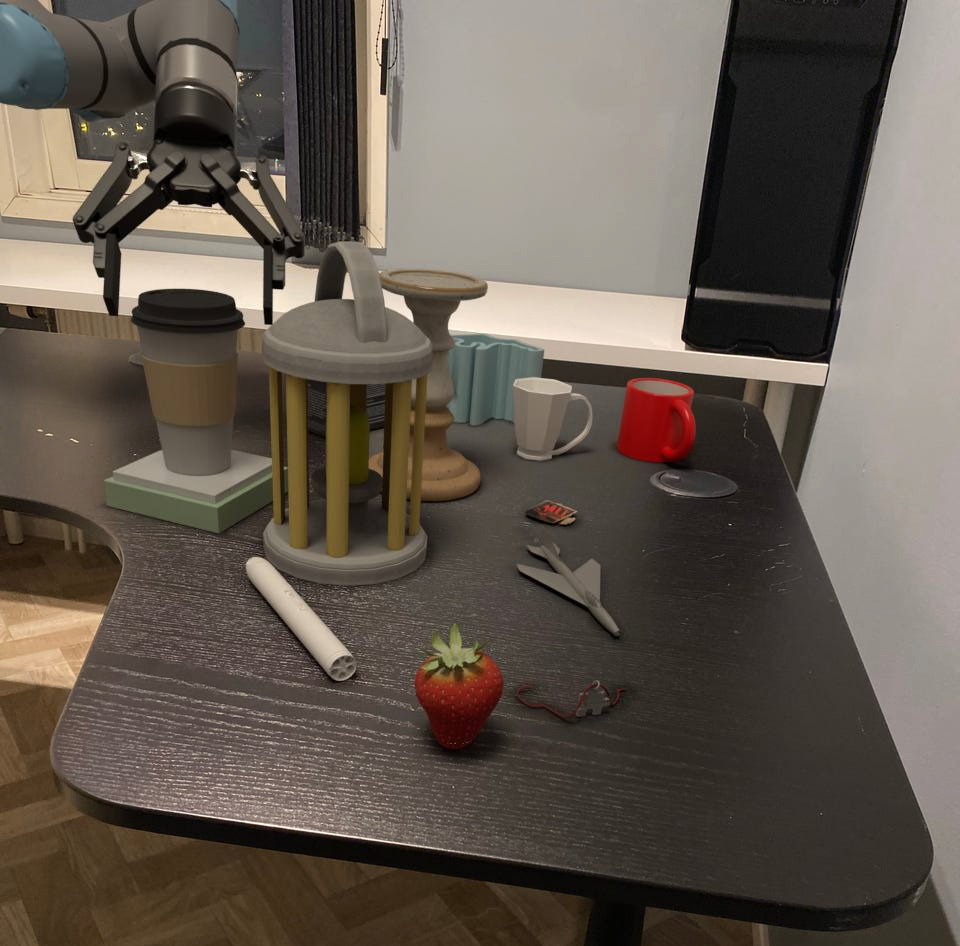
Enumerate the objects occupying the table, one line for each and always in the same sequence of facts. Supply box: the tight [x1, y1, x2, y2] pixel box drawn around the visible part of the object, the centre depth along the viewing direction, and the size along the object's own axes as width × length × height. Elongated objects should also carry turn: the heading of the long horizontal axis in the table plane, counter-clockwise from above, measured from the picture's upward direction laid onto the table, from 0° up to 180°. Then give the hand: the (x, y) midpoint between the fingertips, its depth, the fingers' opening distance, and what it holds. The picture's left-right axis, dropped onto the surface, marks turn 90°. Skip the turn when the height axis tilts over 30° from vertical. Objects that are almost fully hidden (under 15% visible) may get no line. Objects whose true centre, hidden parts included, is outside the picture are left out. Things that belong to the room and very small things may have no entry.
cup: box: [513, 377, 594, 462], centre depth 105 cm, size 7×10×8 cm
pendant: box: [516, 680, 627, 719], centre depth 61 cm, size 8×4×3 cm, turn 107°
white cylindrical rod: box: [245, 556, 357, 682], centre depth 68 cm, size 18×2×2 cm, turn 32°
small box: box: [308, 379, 386, 439], centre depth 107 cm, size 11×6×10 cm, turn 138°
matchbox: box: [524, 499, 578, 525], centre depth 90 cm, size 5×5×1 cm
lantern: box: [261, 241, 433, 587], centre depth 74 cm, size 14×14×25 cm
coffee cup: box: [130, 288, 246, 476], centre depth 82 cm, size 9×9×15 cm
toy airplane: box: [516, 524, 621, 637], centre depth 78 cm, size 8×21×2 cm, turn 18°
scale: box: [103, 449, 288, 534], centre depth 86 cm, size 12×12×3 cm
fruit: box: [414, 622, 505, 750], centre depth 55 cm, size 5×5×8 cm
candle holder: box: [369, 268, 489, 502], centre depth 91 cm, size 12×12×20 cm
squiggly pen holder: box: [446, 333, 545, 427], centre depth 114 cm, size 18×10×9 cm, turn 116°
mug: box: [616, 377, 697, 463], centre depth 108 cm, size 8×12×8 cm, turn 24°
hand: (190, 312), depth 82 cm, fingers open, 13 cm apart
